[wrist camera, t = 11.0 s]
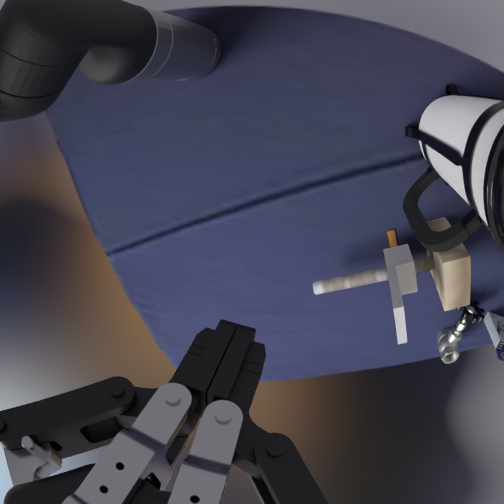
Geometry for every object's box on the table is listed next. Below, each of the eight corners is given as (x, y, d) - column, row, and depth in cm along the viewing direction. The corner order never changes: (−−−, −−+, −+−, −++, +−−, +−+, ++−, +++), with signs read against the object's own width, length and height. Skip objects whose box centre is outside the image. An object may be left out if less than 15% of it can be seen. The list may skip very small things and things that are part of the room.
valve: (452, 342, 50) (479, 299, 44) (457, 366, 45) (489, 322, 39) (427, 338, 52) (454, 293, 45) (432, 362, 46) (463, 316, 40)
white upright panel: (388, 279, 44) (398, 344, 33) (382, 247, 42) (393, 308, 30) (412, 273, 43) (428, 337, 31) (407, 241, 41) (426, 301, 29)
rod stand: (324, 287, 52) (317, 335, 42) (310, 249, 49) (301, 293, 39) (449, 259, 43) (469, 304, 33) (444, 216, 39) (470, 255, 30)
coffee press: (398, 75, 32) (508, 51, 7) (494, 97, 28) (644, 142, 3) (391, 191, 40) (446, 343, 16) (480, 204, 36) (580, 339, 12)
